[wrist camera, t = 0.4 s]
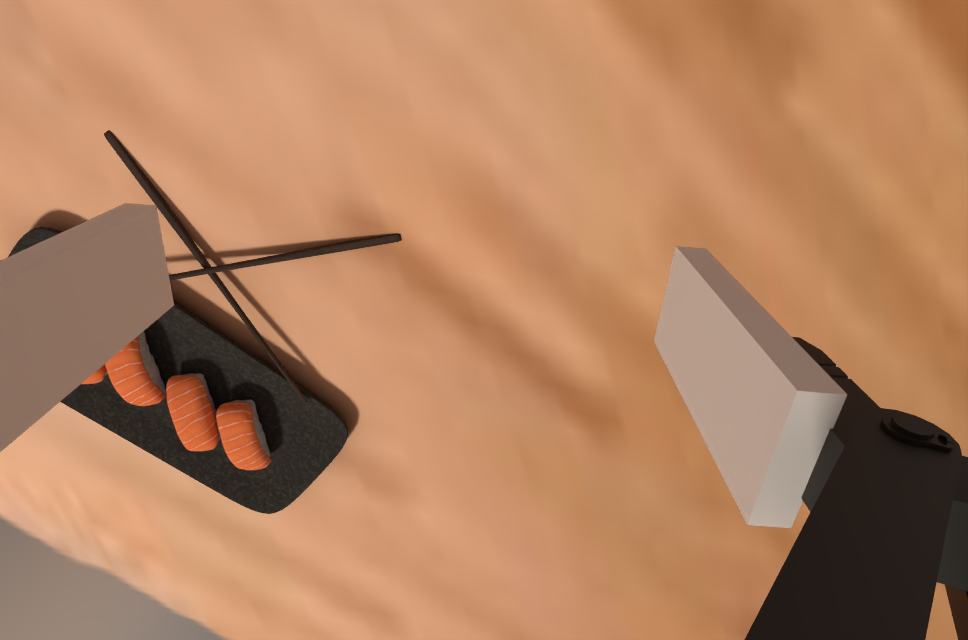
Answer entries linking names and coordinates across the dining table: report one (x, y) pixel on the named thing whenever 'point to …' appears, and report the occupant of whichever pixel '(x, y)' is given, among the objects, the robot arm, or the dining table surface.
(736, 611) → the dining table surface
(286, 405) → the sushi plate
